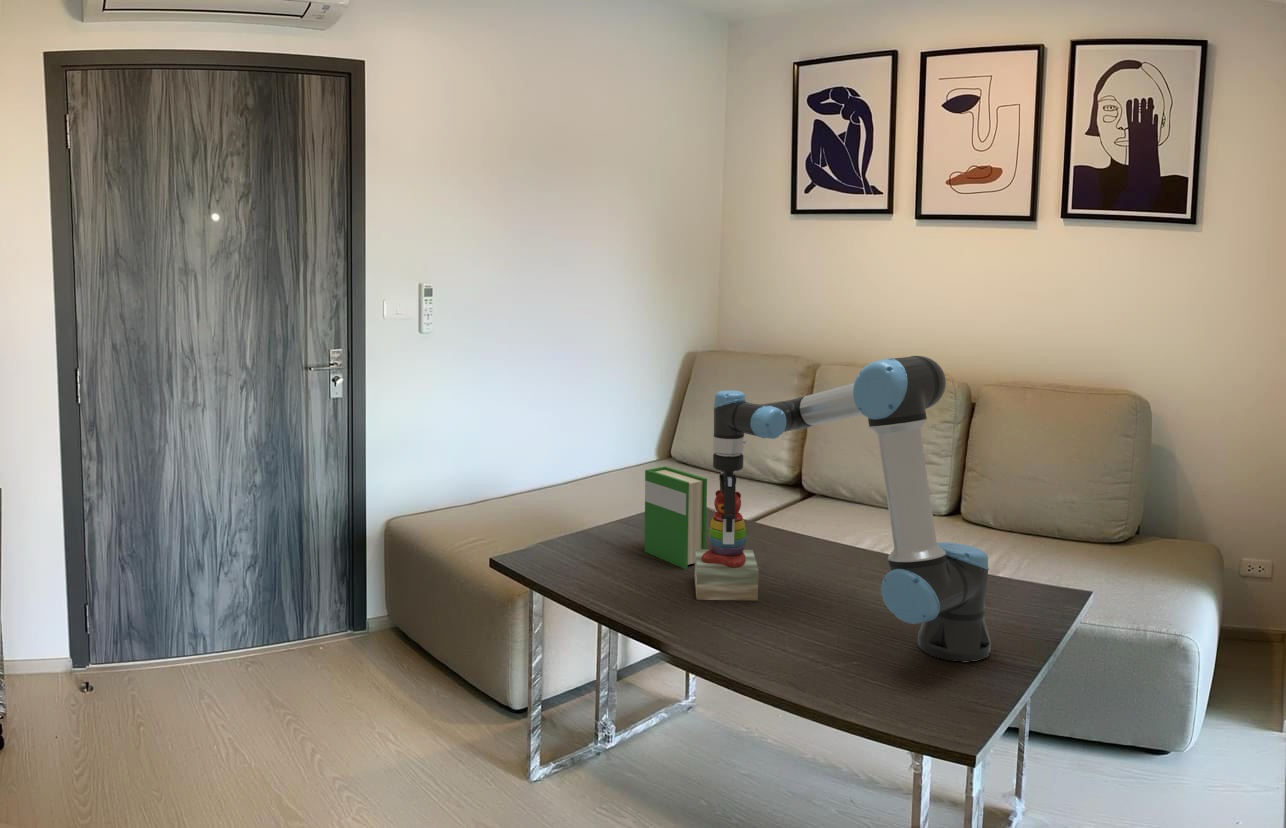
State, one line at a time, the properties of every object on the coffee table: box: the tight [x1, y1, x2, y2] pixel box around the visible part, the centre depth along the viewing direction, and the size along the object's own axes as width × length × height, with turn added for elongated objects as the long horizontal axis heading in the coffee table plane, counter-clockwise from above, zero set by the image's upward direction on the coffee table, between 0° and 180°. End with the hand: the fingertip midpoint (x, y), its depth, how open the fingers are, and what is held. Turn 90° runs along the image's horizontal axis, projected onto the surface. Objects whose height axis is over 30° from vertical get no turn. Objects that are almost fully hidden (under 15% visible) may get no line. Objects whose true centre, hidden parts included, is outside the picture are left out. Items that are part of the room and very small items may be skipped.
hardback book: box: [644, 466, 708, 570], centre depth 262 cm, size 18×7×24 cm, turn 38°
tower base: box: [694, 548, 760, 601], centre depth 240 cm, size 15×15×8 cm
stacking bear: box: [701, 489, 747, 568], centre depth 237 cm, size 11×10×18 cm
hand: (726, 535), depth 238 cm, fingers open, 13 cm apart
